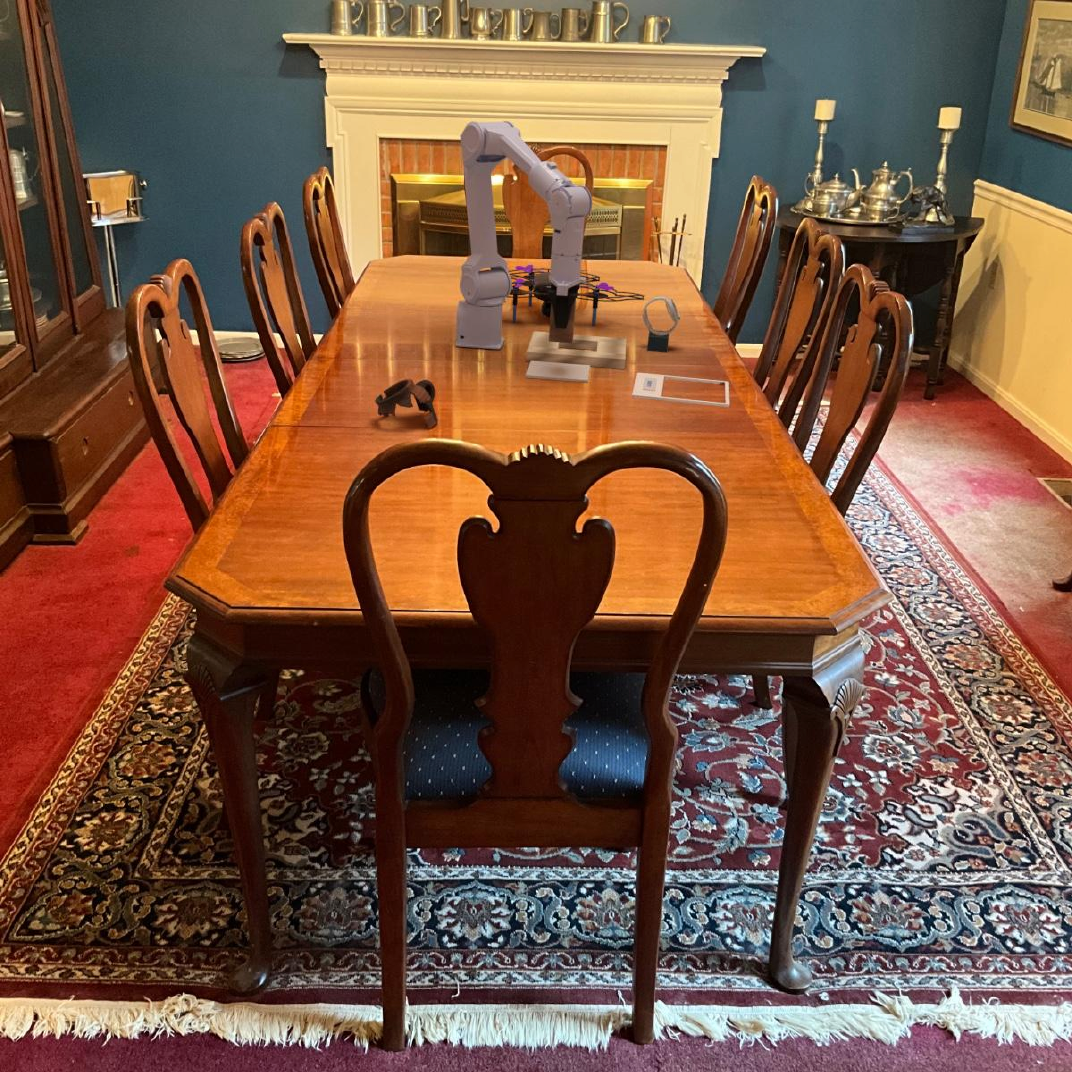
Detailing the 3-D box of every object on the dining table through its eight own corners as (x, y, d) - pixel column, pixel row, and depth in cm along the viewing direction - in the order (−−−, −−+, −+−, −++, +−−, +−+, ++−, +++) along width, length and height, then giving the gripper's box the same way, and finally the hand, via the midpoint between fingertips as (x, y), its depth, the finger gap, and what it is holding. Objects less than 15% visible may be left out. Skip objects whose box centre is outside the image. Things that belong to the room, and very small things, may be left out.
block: (548, 341, 205) (551, 300, 202) (550, 335, 209) (553, 295, 206) (572, 343, 205) (575, 302, 201) (573, 337, 209) (576, 296, 206)
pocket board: (526, 361, 216) (526, 351, 215) (533, 340, 230) (533, 331, 229) (624, 369, 215) (625, 359, 214) (625, 347, 229) (626, 338, 228)
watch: (676, 353, 228) (682, 302, 223) (638, 349, 228) (643, 298, 224) (676, 346, 233) (682, 296, 228) (640, 342, 233) (645, 292, 229)
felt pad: (525, 377, 206) (525, 375, 206) (530, 362, 215) (530, 360, 215) (587, 382, 205) (587, 380, 205) (589, 367, 214) (590, 365, 214)
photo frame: (637, 371, 211) (728, 380, 209) (636, 376, 212) (727, 386, 210) (632, 393, 198) (729, 403, 196) (631, 399, 199) (728, 409, 197)
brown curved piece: (426, 438, 175) (400, 396, 171) (385, 450, 180) (359, 409, 177) (459, 401, 183) (435, 360, 180) (418, 414, 189) (394, 374, 185)
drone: (467, 283, 233) (467, 257, 258) (466, 326, 237) (465, 297, 263) (648, 291, 237) (629, 264, 262) (643, 333, 241) (626, 304, 266)
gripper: (586, 262, 193) (580, 335, 199) (589, 247, 206) (584, 317, 212) (547, 259, 194) (543, 332, 199) (553, 245, 207) (549, 314, 213)
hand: (561, 324), depth 206 cm, fingers closed on block, 4 cm apart
